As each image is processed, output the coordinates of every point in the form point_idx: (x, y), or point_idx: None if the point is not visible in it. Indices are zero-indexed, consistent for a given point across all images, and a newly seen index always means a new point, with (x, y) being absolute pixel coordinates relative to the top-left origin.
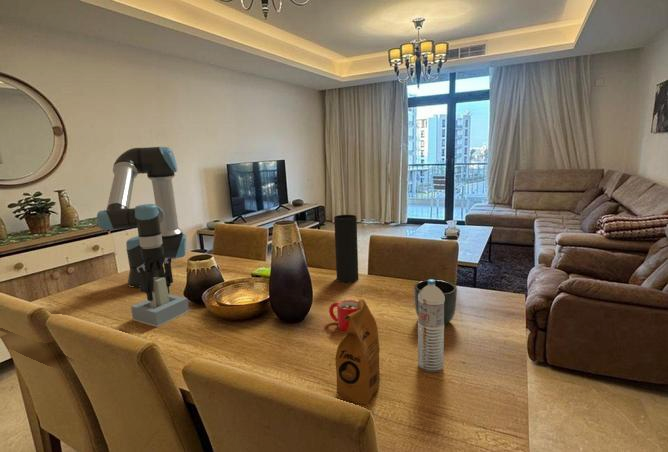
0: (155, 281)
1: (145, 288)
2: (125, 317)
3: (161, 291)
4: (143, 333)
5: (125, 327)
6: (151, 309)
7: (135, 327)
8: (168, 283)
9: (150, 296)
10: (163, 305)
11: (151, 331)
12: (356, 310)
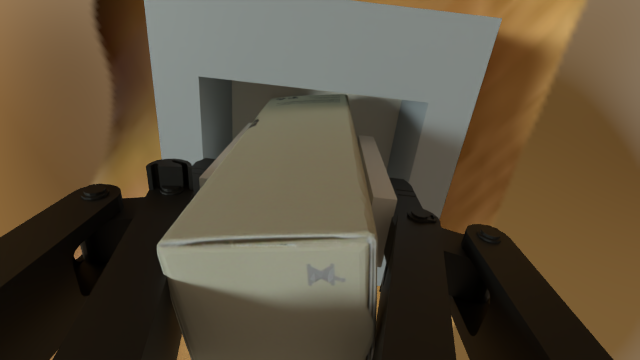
0: (376, 264)
1: (515, 264)
2: (379, 288)
3: (319, 147)
4: (542, 43)
5: (477, 206)
6: (444, 113)
7: (471, 157)
8: (155, 195)
9: (407, 199)
10: (351, 78)
11: (513, 11)
12: None
